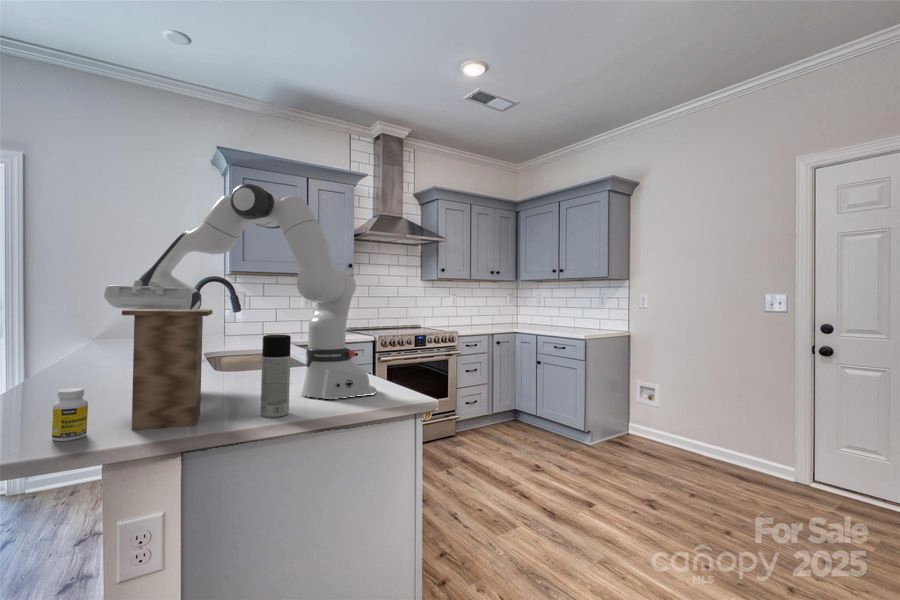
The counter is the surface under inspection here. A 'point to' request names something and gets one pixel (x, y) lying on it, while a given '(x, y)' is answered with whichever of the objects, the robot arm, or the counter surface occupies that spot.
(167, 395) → the pedestal
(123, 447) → the counter surface
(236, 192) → the robot arm
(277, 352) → the spray can
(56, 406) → the supplement bottle
